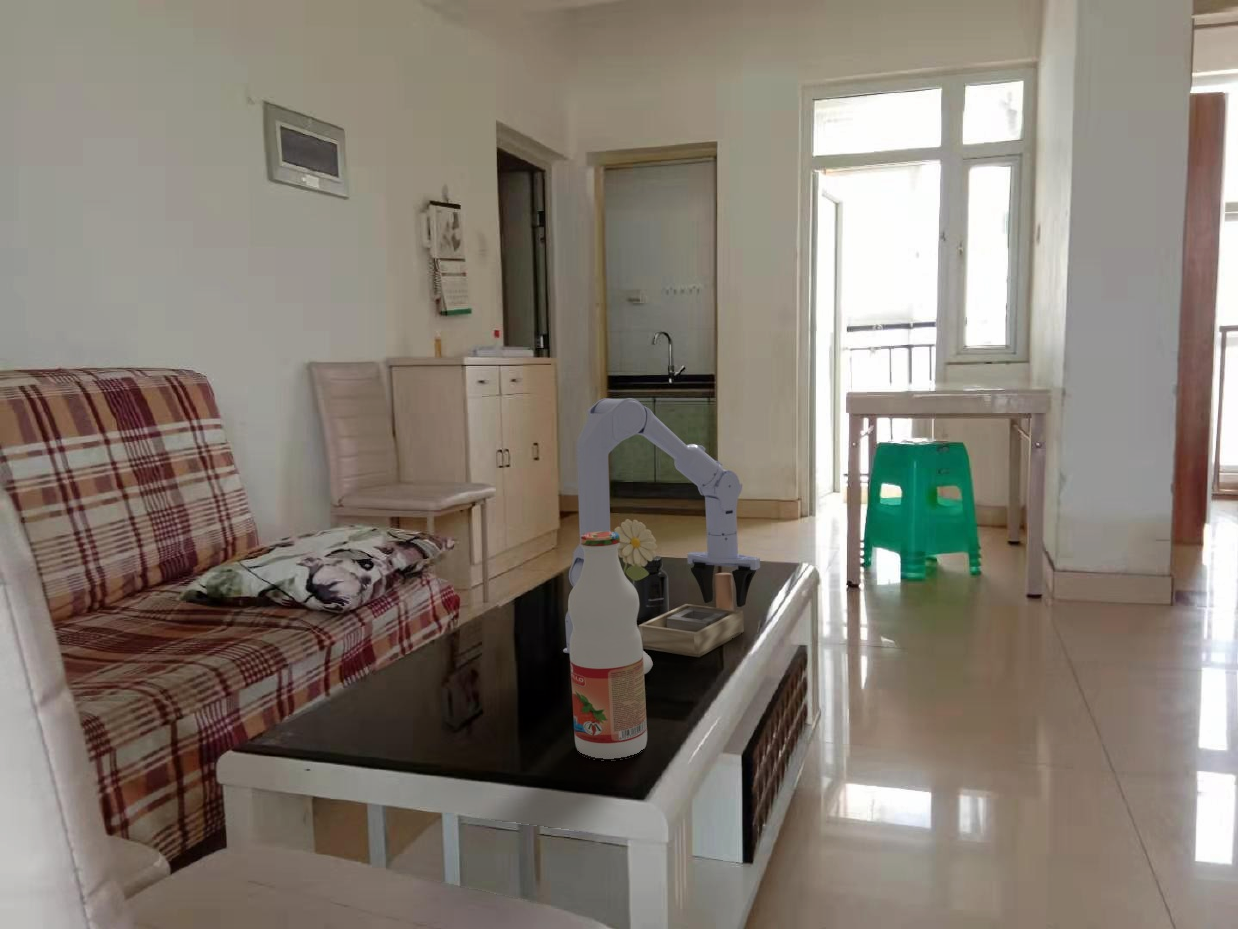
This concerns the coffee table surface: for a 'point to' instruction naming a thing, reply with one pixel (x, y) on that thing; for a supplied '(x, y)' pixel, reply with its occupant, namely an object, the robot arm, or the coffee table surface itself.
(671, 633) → the box
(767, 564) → the coffee table surface
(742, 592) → the robot arm
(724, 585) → the peg
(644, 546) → the flower in vase
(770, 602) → the coffee table surface
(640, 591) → the supplement bottle
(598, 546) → the fruit juice
